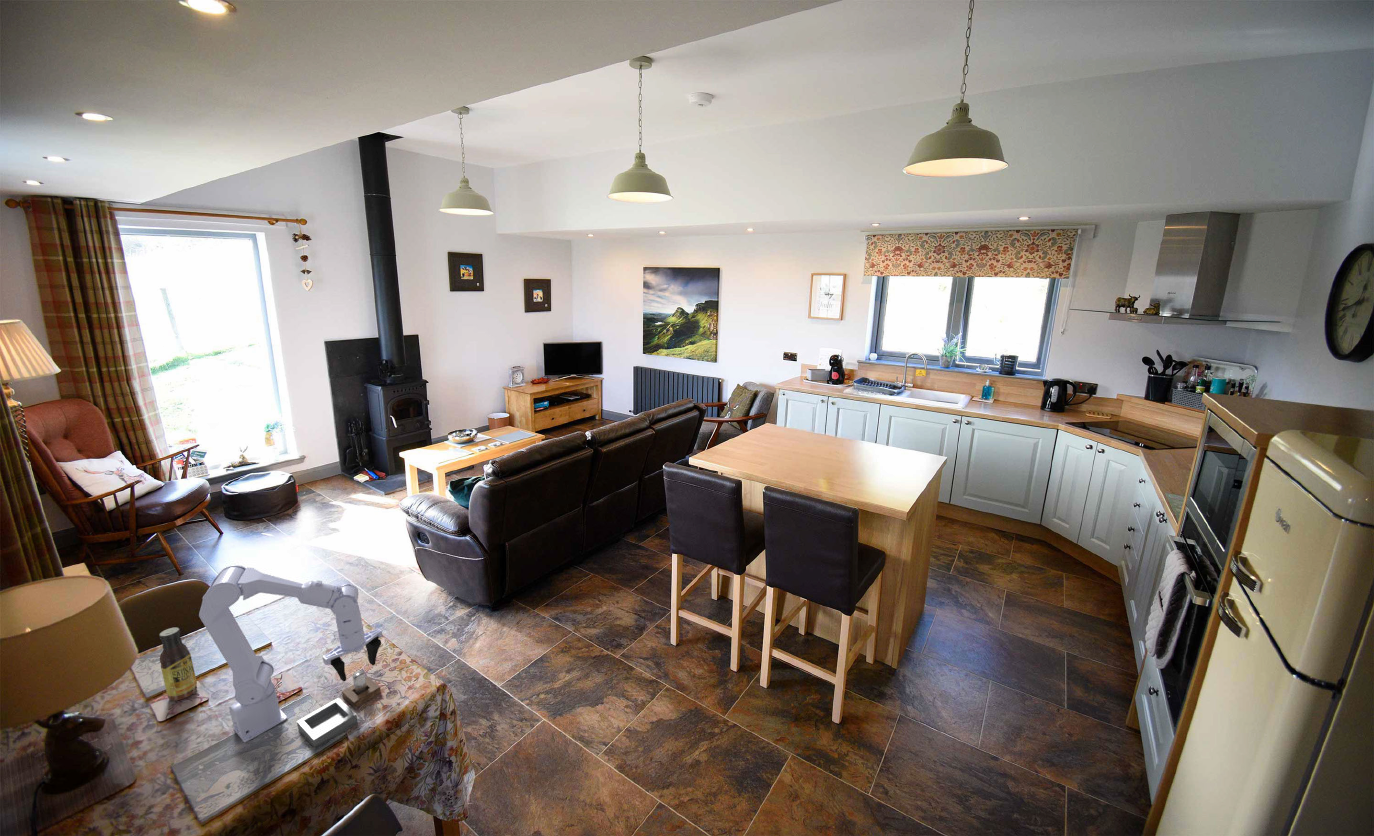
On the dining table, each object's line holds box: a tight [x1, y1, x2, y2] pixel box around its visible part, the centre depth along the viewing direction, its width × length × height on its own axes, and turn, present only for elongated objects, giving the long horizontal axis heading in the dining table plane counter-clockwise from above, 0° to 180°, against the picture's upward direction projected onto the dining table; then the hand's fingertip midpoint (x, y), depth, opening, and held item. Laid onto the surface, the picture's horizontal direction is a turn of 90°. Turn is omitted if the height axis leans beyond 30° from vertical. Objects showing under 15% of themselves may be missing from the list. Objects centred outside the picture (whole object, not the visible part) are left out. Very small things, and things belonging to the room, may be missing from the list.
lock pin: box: [352, 670, 367, 695], centre depth 152 cm, size 3×3×7 cm
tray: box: [296, 697, 359, 751], centre depth 142 cm, size 10×10×3 cm
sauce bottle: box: [159, 627, 198, 702], centre depth 150 cm, size 7×6×20 cm
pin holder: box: [341, 676, 382, 709], centre depth 152 cm, size 7×7×2 cm
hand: (358, 671), depth 151 cm, fingers open, 7 cm apart
